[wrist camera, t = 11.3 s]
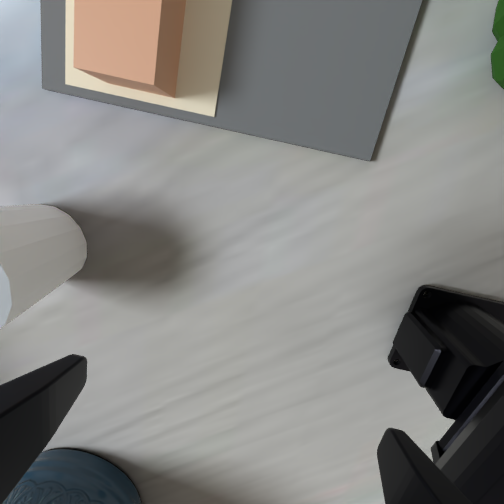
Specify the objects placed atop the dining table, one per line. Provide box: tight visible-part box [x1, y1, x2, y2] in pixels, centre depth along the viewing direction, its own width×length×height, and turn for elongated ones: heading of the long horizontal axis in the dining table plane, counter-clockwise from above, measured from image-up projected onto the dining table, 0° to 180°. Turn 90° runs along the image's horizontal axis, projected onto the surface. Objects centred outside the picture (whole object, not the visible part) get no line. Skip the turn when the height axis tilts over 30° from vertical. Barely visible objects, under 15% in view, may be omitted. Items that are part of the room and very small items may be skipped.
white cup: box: [0, 204, 87, 329], centre depth 17 cm, size 7×7×7 cm
